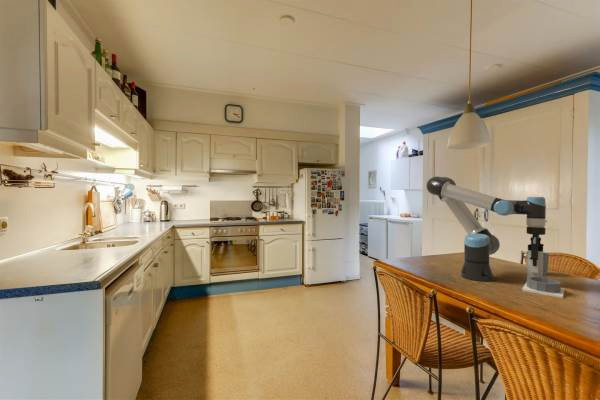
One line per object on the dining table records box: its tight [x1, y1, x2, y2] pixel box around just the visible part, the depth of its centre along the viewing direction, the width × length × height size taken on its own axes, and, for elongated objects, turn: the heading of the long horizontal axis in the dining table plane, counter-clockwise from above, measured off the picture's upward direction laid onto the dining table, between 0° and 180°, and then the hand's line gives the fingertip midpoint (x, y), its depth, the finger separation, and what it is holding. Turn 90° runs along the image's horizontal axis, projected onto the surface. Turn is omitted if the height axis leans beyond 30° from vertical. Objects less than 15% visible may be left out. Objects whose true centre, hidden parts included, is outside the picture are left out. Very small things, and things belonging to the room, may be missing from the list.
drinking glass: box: [525, 250, 550, 276], centre depth 162 cm, size 10×10×12 cm
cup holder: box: [521, 276, 565, 299], centre depth 132 cm, size 14×14×5 cm
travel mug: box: [526, 243, 545, 278], centre depth 145 cm, size 6×7×20 cm
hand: (535, 270), depth 145 cm, fingers closed on travel mug, 6 cm apart
